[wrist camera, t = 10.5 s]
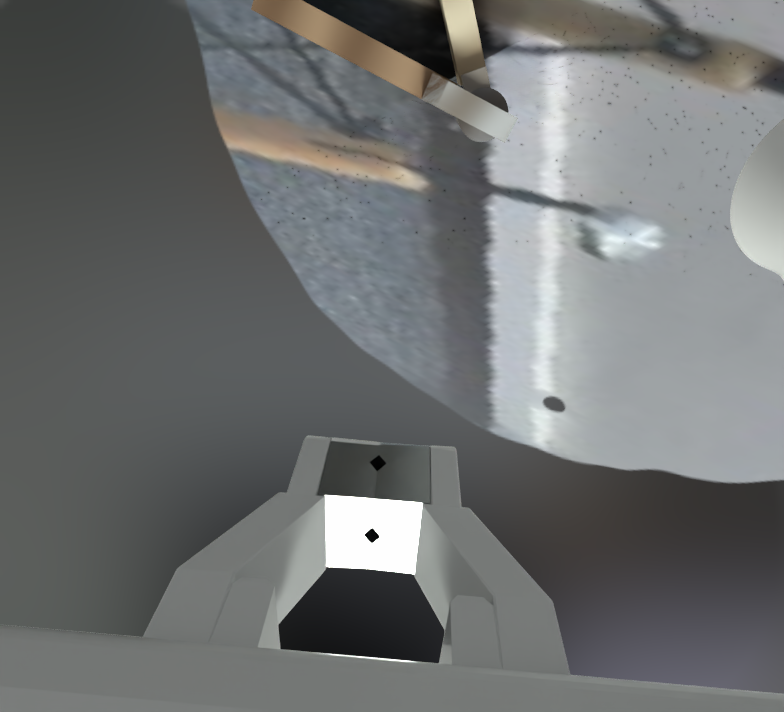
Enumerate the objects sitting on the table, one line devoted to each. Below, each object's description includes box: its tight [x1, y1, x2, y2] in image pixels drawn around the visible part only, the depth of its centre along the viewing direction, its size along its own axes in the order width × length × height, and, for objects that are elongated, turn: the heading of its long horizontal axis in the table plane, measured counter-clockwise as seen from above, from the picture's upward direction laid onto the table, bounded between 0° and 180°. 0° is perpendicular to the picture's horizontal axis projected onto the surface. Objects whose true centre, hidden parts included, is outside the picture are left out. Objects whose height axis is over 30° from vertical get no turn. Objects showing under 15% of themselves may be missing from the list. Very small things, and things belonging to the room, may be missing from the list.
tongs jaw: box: [251, 0, 518, 143], centre depth 38 cm, size 20×2×6 cm, turn 65°
